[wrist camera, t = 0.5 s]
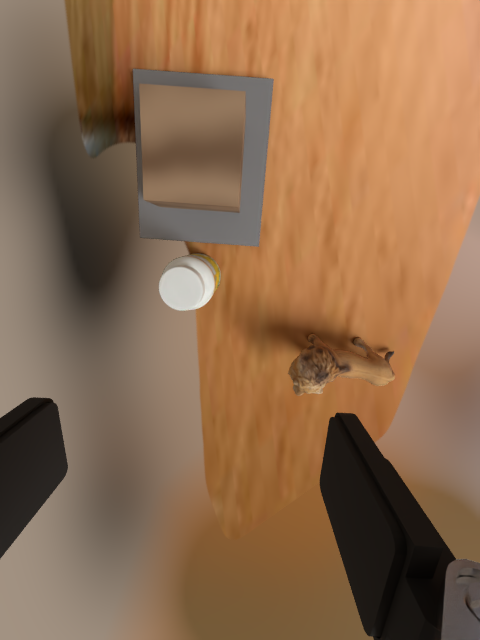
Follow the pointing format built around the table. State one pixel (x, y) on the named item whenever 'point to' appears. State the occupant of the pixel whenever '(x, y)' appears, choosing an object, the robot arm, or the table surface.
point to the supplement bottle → (189, 281)
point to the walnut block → (192, 147)
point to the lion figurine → (337, 366)
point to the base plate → (248, 221)
